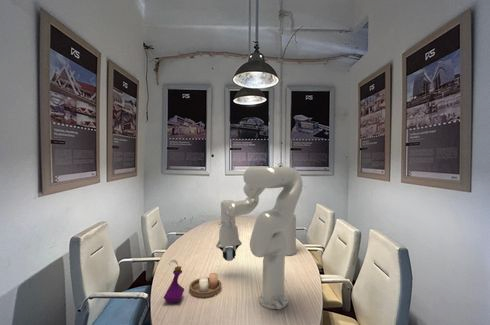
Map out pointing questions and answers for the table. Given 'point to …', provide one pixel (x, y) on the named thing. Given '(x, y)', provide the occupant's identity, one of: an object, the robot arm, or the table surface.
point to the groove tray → (195, 292)
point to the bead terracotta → (213, 280)
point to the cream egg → (203, 284)
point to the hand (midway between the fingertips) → (229, 258)
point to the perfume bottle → (174, 287)
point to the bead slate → (229, 253)
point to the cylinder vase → (291, 237)
